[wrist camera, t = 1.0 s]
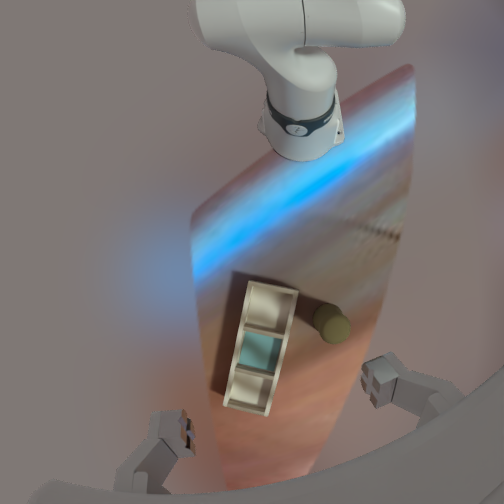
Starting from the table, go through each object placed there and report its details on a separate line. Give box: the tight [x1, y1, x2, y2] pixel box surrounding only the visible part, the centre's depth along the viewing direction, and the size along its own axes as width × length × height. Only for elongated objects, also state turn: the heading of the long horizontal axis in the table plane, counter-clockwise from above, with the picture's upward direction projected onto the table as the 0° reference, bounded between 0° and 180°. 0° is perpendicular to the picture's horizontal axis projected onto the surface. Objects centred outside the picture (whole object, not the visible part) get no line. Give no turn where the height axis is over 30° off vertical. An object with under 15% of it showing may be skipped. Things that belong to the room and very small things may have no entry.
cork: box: [313, 304, 351, 344], centre depth 45 cm, size 6×6×11 cm
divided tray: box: [223, 280, 299, 417], centre depth 50 cm, size 26×9×4 cm, turn 168°
